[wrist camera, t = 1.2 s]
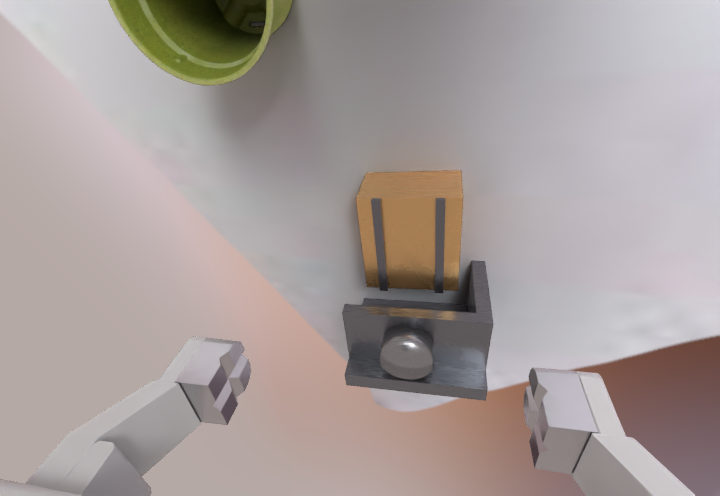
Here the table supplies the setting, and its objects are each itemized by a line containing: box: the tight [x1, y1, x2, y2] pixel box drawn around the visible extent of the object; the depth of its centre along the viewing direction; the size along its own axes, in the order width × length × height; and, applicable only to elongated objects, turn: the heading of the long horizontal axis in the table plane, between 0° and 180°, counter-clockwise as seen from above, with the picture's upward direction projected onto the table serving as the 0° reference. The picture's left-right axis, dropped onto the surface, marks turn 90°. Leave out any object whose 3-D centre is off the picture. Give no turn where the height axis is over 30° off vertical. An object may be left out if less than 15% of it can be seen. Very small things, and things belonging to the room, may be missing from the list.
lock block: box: [356, 171, 463, 293], centre depth 32 cm, size 9×8×5 cm
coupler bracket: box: [342, 261, 493, 400], centre depth 35 cm, size 7×12×10 cm, turn 95°
